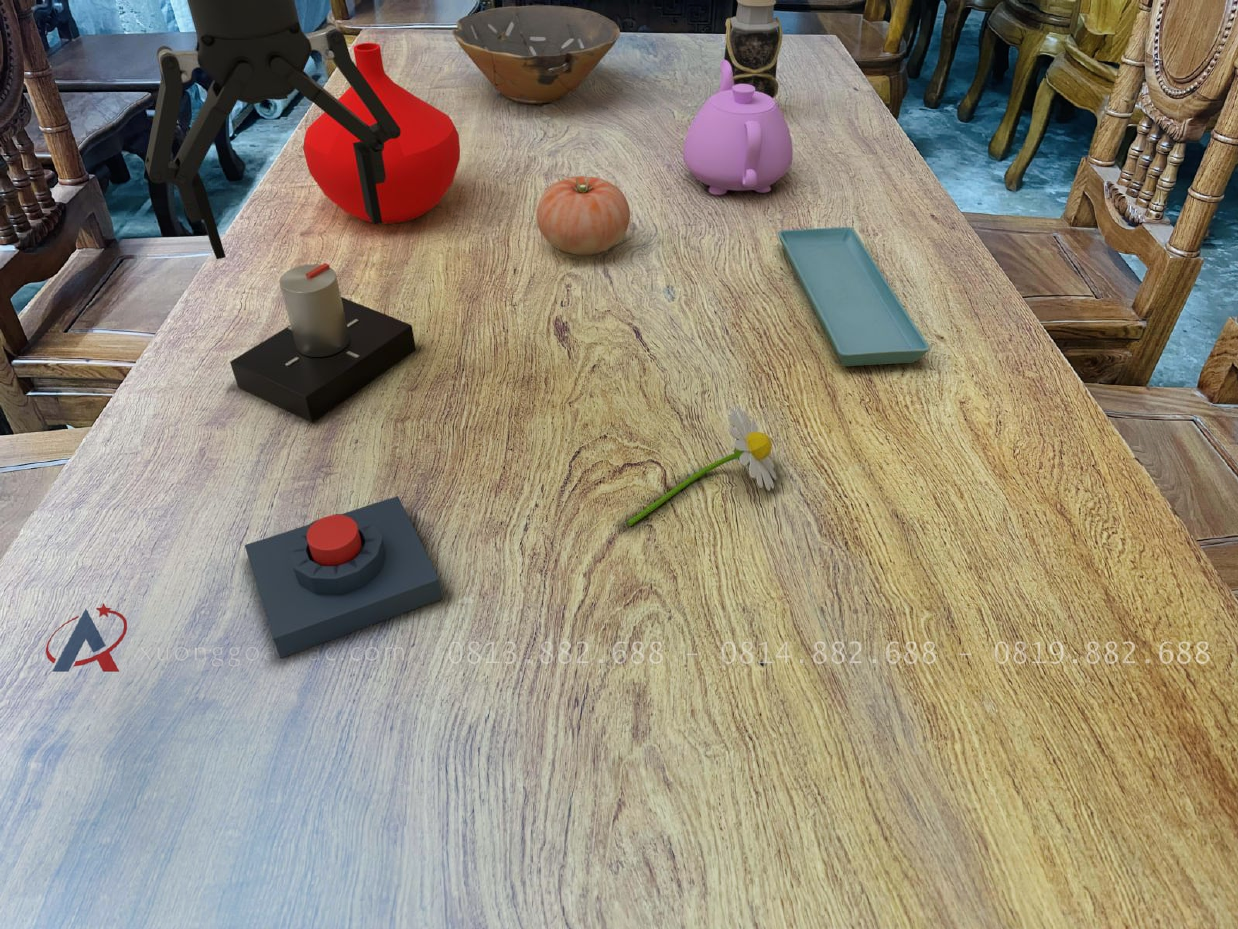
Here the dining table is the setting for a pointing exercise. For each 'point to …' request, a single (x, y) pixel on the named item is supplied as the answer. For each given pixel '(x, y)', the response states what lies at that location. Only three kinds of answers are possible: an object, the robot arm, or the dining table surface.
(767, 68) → the lantern
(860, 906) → the dining table surface
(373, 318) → the panel
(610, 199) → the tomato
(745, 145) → the teapot
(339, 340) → the knob
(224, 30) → the robot arm
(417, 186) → the vase
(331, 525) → the button
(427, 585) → the button box
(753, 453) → the decorative flower
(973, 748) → the dining table surface
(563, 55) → the bowl
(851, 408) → the dining table surface
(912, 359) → the rectangular tray
